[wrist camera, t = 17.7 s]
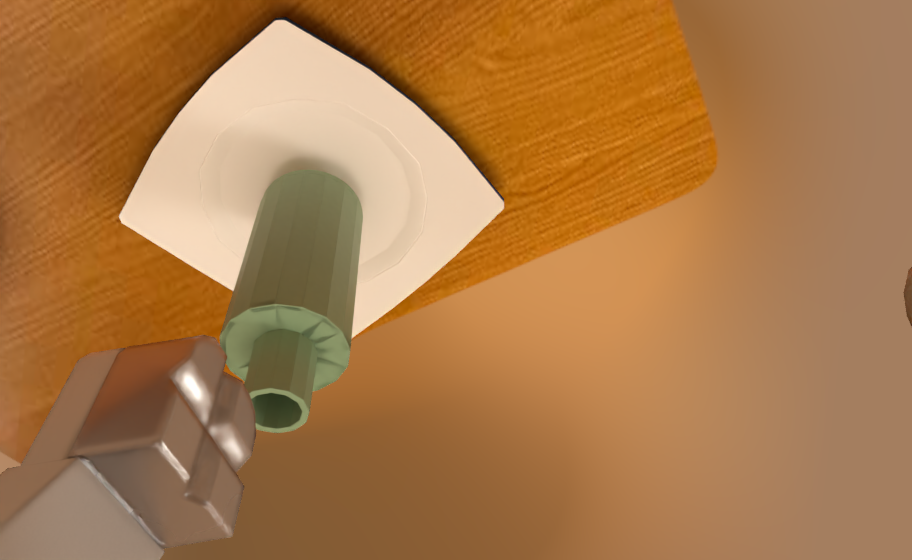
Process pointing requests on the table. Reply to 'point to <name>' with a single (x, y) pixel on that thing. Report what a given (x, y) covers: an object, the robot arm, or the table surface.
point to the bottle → (295, 296)
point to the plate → (311, 166)
